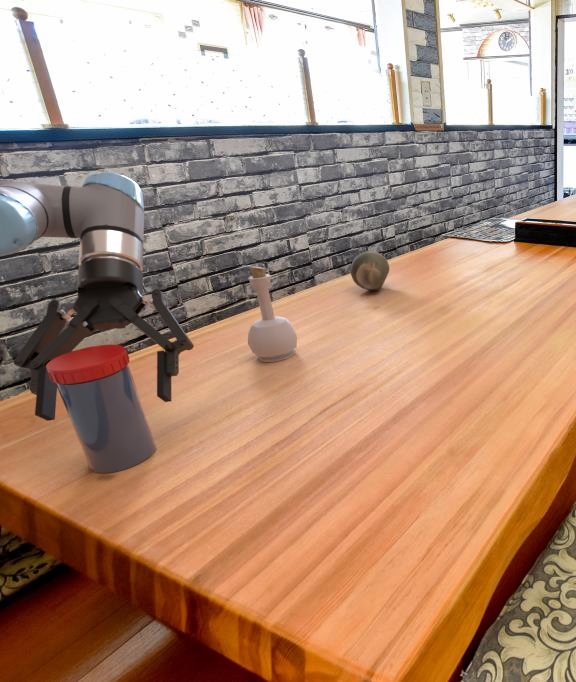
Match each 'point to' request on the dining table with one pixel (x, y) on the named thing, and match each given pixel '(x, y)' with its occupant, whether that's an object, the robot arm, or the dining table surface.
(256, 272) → the potion bottle
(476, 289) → the dining table surface
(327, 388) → the dining table surface
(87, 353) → the lid
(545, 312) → the dining table surface
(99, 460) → the grey storage canister
